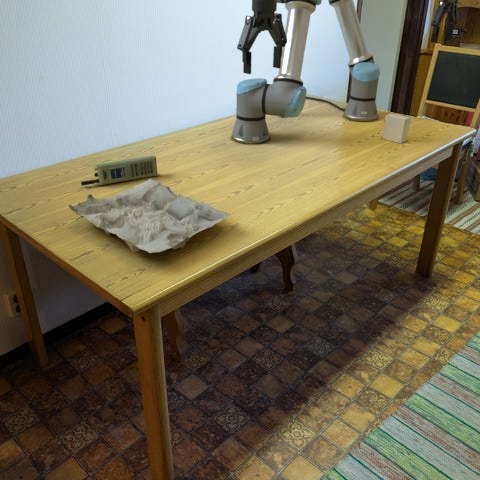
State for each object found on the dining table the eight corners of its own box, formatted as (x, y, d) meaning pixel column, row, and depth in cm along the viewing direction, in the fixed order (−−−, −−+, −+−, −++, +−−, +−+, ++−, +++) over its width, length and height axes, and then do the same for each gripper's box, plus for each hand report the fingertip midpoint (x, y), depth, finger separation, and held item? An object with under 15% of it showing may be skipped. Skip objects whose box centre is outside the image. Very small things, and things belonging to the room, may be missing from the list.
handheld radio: (158, 176, 170) (83, 189, 160) (155, 173, 172) (80, 186, 162) (156, 157, 167) (79, 169, 157) (153, 154, 169) (77, 166, 159)
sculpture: (148, 192, 160) (63, 221, 139) (147, 174, 157) (60, 201, 136) (236, 233, 139) (152, 274, 118) (238, 213, 136) (151, 251, 115)
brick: (400, 143, 203) (404, 119, 199) (382, 138, 209) (385, 115, 204) (406, 140, 206) (410, 117, 201) (388, 136, 211) (391, 113, 207)
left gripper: (243, 0, 142) (242, 77, 152) (301, -4, 157) (296, 67, 167) (225, -2, 146) (225, 74, 157) (283, -6, 161) (279, 63, 172)
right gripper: (446, -11, 205) (435, 44, 216) (472, -13, 221) (461, 39, 231) (429, -12, 210) (419, 42, 220) (455, -14, 225) (445, 37, 236)
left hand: (262, 70), depth 162 cm, fingers open, 13 cm apart
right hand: (441, 41), depth 226 cm, fingers open, 13 cm apart
